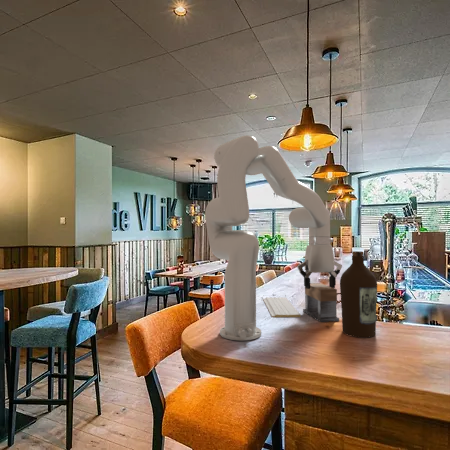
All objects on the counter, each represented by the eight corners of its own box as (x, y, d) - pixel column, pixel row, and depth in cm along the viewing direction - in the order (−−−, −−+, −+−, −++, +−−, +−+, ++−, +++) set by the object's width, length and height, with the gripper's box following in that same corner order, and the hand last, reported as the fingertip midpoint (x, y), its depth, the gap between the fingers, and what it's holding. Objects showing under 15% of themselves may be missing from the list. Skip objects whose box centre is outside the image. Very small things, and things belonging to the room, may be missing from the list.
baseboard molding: (267, 318, 118) (300, 319, 118) (267, 310, 118) (300, 311, 118) (259, 300, 149) (286, 300, 149) (259, 294, 149) (286, 294, 149)
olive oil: (333, 330, 102) (332, 251, 102) (357, 326, 106) (356, 250, 107) (359, 340, 92) (358, 253, 93) (385, 335, 97) (384, 252, 97)
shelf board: (305, 293, 126) (304, 283, 126) (319, 293, 127) (319, 283, 127) (320, 301, 112) (320, 289, 112) (336, 300, 113) (336, 289, 113)
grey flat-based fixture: (339, 321, 113) (339, 300, 113) (320, 322, 111) (320, 301, 112) (319, 310, 127) (319, 292, 127) (303, 311, 126) (302, 293, 126)
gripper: (336, 241, 125) (336, 285, 125) (293, 241, 122) (293, 287, 122) (346, 241, 118) (346, 289, 117) (301, 242, 115) (301, 290, 114)
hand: (319, 287), depth 120 cm, fingers open, 9 cm apart
